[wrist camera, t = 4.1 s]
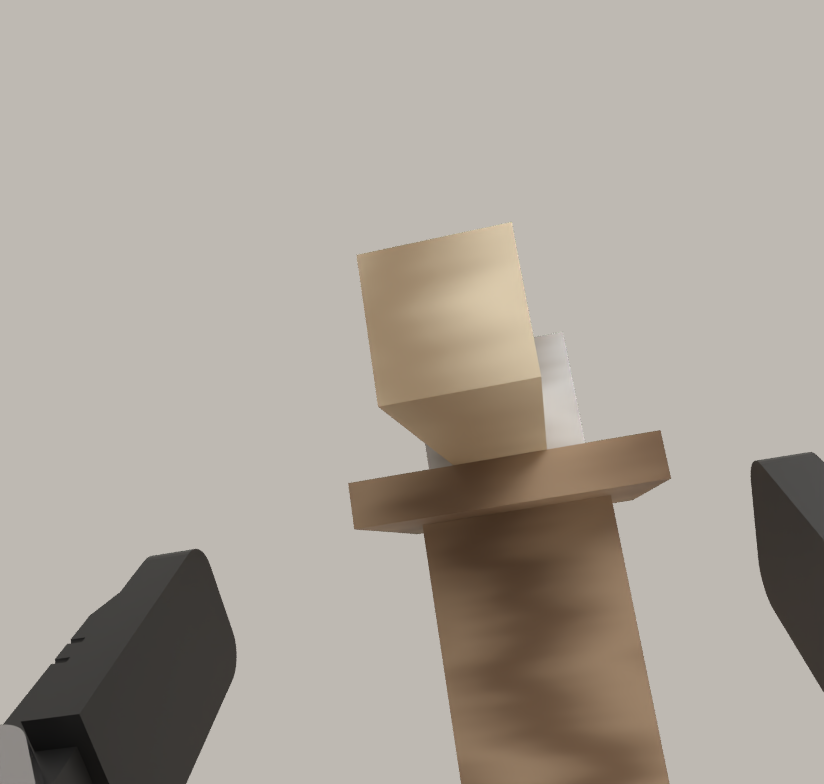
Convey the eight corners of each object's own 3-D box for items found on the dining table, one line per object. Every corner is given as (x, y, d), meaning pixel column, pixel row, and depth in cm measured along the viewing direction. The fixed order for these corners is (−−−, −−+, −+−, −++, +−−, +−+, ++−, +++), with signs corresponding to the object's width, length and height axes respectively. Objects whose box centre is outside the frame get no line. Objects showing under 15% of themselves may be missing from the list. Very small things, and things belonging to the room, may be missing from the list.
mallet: (300, 421, 14) (271, 177, 16) (451, 494, 36) (434, 389, 37) (626, 361, 14) (572, 108, 15) (582, 472, 35) (561, 365, 36)
